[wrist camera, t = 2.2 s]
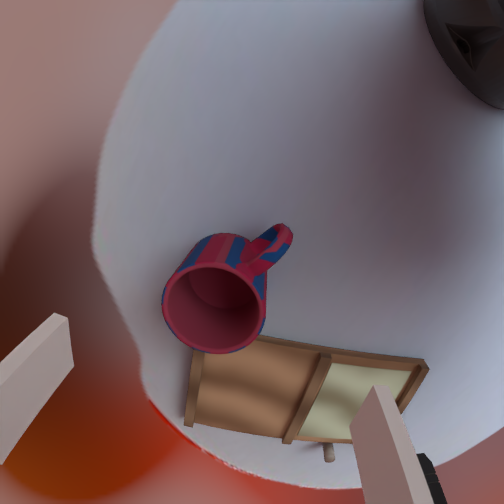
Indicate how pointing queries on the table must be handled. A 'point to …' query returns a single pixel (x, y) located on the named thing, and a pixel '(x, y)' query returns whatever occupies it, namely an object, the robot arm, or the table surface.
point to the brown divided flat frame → (294, 389)
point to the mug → (223, 290)
